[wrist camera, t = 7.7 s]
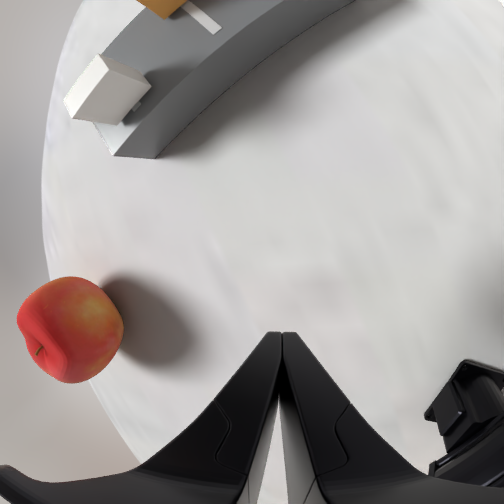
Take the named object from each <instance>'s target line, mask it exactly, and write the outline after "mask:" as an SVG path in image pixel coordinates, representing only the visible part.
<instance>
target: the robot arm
mask: <svg viewBox="0 0 504 504" xmlns="http://www.w3.org/2000/svg"><path fill="white" fill-rule="evenodd" d="M465 365H466V366H465ZM464 366H465V367H464ZM463 367H464V368H463ZM503 387H504V372H501V371H498V370H495V369H492V368H488V367H485V366H482V365H479V364H476V363H473V362H470V361H467V360H464V361H462V362H461V363H460V364H459V366H458V367H457V369H456V370H455V372H454V373H453V375H452V376H451V378H450V379H449V381H448V382H447V383H446V384H445V386H444V387H443V389H442V390H441V392H440V393H439V394H438V396H437V397H436V398H435V400H434V401H433V402H432V404H431V405H430V407H429V408H428V409H427V411H426V412H425V413H424V418H425V420H428V421H432V422H437V425H438V429H439V432H440V435H441V436H443V439H444V443H445V448H446V452H447V453H448V454H447V455H445V456H443V457H442V458H440V459H439V460H437V461H434V462H432V463H431V464H430V465H429V474H428V475H426V474H424V473H422V472H420V471H419V470H417V469H416V468H415V467H413V466H412V465H411V464H410V463H409V462H408V461H407V460H406V459H404V458H403V457H402V456H401V455H400V454H399V453H398V452H397V451H396V450H395V449H394V448H393V447H392V446H390V445H389V444H388V443H387V442H386V441H385V440H384V439H383V438H382V437H381V436H380V435H379V434H378V433H377V432H376V431H375V430H374V429H373V428H372V427H371V426H370V425H369V424H368V423H367V421H366V420H365V419H364V418H363V417H362V416H361V414H360V413H359V412H358V411H357V409H356V408H355V407H354V406H353V404H350V401H349V399H348V398H347V397H346V396H345V394H344V393H343V392H342V391H341V389H340V388H339V387H338V385H337V384H336V383H335V382H334V380H333V379H332V378H331V376H330V375H329V374H328V373H327V371H326V370H325V369H324V367H323V366H322V365H321V364H320V362H319V361H318V360H317V358H316V357H315V356H314V355H313V353H312V352H311V351H310V349H309V348H308V347H307V346H306V344H305V343H304V342H303V340H302V339H301V338H300V336H299V335H298V334H297V333H296V332H283V333H281V332H271V331H270V332H267V333H266V334H265V336H264V337H263V338H262V340H261V341H260V342H259V344H258V345H257V346H256V347H255V349H254V350H253V351H252V352H251V354H250V355H249V356H248V358H247V359H246V360H245V361H244V363H243V364H242V365H241V366H240V368H239V369H238V370H237V371H236V373H235V374H234V375H233V376H232V377H231V379H230V380H229V381H228V382H227V384H226V385H225V386H224V387H223V388H222V390H221V391H220V392H219V393H218V394H217V396H216V397H215V398H214V401H211V403H210V404H209V405H208V406H207V407H206V408H205V410H204V411H203V412H202V413H201V414H200V415H199V416H198V417H197V418H196V419H195V420H194V421H193V422H192V423H191V424H190V425H189V426H188V427H187V428H186V429H185V430H184V431H182V432H181V433H180V434H179V435H178V436H177V437H175V438H174V439H173V440H172V441H171V442H169V443H168V444H167V445H166V446H165V447H163V448H162V449H161V450H160V451H158V452H157V453H156V454H155V455H153V456H152V457H151V458H150V459H148V460H147V461H146V462H144V463H143V464H141V465H140V466H138V467H136V468H134V469H132V470H129V471H127V472H124V473H119V474H115V475H109V476H103V477H98V478H91V479H85V480H77V481H69V482H59V483H49V482H41V481H38V480H34V479H32V478H29V477H27V476H26V475H24V474H23V473H21V472H20V471H18V470H16V469H15V468H13V467H11V466H9V465H0V495H1V496H2V497H3V498H4V499H6V500H7V501H9V502H10V503H11V504H257V500H258V496H259V492H260V488H261V484H262V479H263V475H264V470H265V466H266V462H267V457H268V452H269V448H270V443H271V438H272V433H273V428H274V423H275V418H276V413H277V408H278V401H279V409H280V419H281V429H282V439H283V449H284V460H285V470H286V481H287V492H288V503H289V504H504V396H503V394H502V392H501V390H502V388H503ZM430 414H431V415H430ZM428 415H429V416H428Z"/></svg>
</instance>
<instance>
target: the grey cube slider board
mask: <svg viewBox="0 0 504 504" xmlns="http://www.w3.org/2000/svg"><path fill="white" fill-rule="evenodd" d="M353 1H355V0H187V1H186V2H185V3H183V4H182V5H181V6H180V7H179V8H177V9H176V10H175V11H174V12H173V13H172V14H171V15H169V16H168V17H167V18H166V19H165V20H164V19H162V18H161V17H160V16H158V15H157V14H155V13H154V12H153V11H151V10H150V9H148V8H147V7H146V8H145V9H144V10H142V11H141V12H140V13H139V14H138V15H137V16H136V17H135V18H134V19H133V20H132V21H131V22H130V23H129V24H128V25H127V26H126V27H125V29H124V30H123V31H122V32H121V33H120V34H119V35H118V36H117V37H116V38H115V39H114V40H113V42H112V43H111V44H110V45H109V46H108V47H107V48H106V50H105V51H104V52H103V53H102V54H101V55H103V56H105V57H108V58H110V59H113V60H115V61H118V62H120V63H122V64H125V65H127V66H129V67H132V68H134V69H136V70H138V71H140V72H141V73H142V75H143V76H144V77H145V78H146V80H147V81H148V82H149V84H150V85H151V86H152V87H151V88H150V89H149V90H148V91H147V92H146V93H145V94H144V95H143V96H142V98H141V99H140V100H139V101H138V102H137V103H136V104H135V105H134V106H133V108H132V109H131V110H130V111H129V112H128V113H127V114H126V116H125V117H124V118H123V119H122V120H121V122H120V123H119V124H118V125H117V126H115V125H109V124H104V123H98V122H93V124H94V125H95V127H96V129H97V130H98V132H99V134H100V136H101V137H102V139H103V141H104V142H105V144H106V146H107V148H108V149H109V151H110V153H111V154H112V156H120V157H134V158H146V159H155V158H156V157H157V155H158V154H159V153H160V152H161V151H162V150H163V149H164V148H165V147H166V146H167V145H168V144H169V143H170V142H171V141H172V140H173V139H174V138H175V137H176V136H177V135H178V134H179V133H180V132H181V131H182V130H183V129H184V128H185V127H186V126H187V125H188V124H189V123H190V122H192V121H193V120H194V119H195V118H196V117H197V116H198V115H199V114H200V113H201V112H202V111H203V110H204V109H206V108H207V107H208V106H209V105H210V104H211V103H212V102H213V101H214V100H216V99H217V98H218V97H219V96H220V95H221V94H222V93H224V92H225V91H226V90H227V89H228V88H229V87H231V86H232V85H233V84H234V83H235V82H237V81H238V80H239V79H240V78H242V77H243V76H244V75H245V74H246V73H248V72H249V71H250V70H251V69H253V68H254V67H255V66H257V65H258V64H259V63H260V62H262V61H263V60H264V59H266V58H267V57H268V56H270V55H271V54H272V53H274V52H275V51H276V50H278V49H279V48H281V47H282V46H283V45H285V44H286V43H288V42H289V41H291V40H292V39H293V38H295V37H296V36H298V35H299V34H301V33H302V32H304V31H305V30H307V29H308V28H310V27H311V26H313V25H314V24H316V23H318V22H319V21H321V20H322V19H324V18H326V17H327V16H329V15H330V14H332V13H334V12H335V11H337V10H339V9H341V8H342V7H344V6H346V5H348V4H349V3H351V2H353Z"/></svg>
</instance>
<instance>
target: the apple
mask: <svg viewBox="0 0 504 504" xmlns="http://www.w3.org/2000/svg"><path fill="white" fill-rule="evenodd" d="M17 324H18V327H19V329H20V331H21V332H22V334H23V335H24V337H25V340H26V345H27V349H28V351H29V353H30V355H31V356H32V358H33V360H34V361H35V363H37V365H38V366H39V367H40V368H41V369H42V370H44V371H45V372H46V373H47V374H49V375H51V376H52V377H54V378H55V379H57V380H59V381H61V382H64V383H79V382H83V381H86V380H88V379H90V378H92V377H94V376H95V375H97V374H98V373H99V372H101V371H102V370H103V369H104V368H105V367H106V366H107V365H108V364H109V362H110V361H111V360H112V359H113V357H114V356H115V354H116V352H117V350H118V348H119V346H120V344H121V341H122V337H123V332H124V325H123V320H122V318H121V315H120V314H119V312H118V310H117V308H116V307H115V305H114V304H113V302H112V301H111V300H110V298H109V297H108V296H107V295H106V294H105V292H104V291H103V290H101V289H100V288H99V287H98V286H96V285H95V284H93V283H92V282H90V281H88V280H86V279H83V278H79V277H63V278H59V279H55V280H53V281H51V282H48V283H46V284H45V285H43V286H41V287H40V288H38V289H37V290H36V291H34V292H33V293H32V294H31V295H30V296H29V297H28V298H27V299H26V300H25V301H24V303H23V304H22V306H21V307H20V309H19V312H18V315H17Z"/></svg>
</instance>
